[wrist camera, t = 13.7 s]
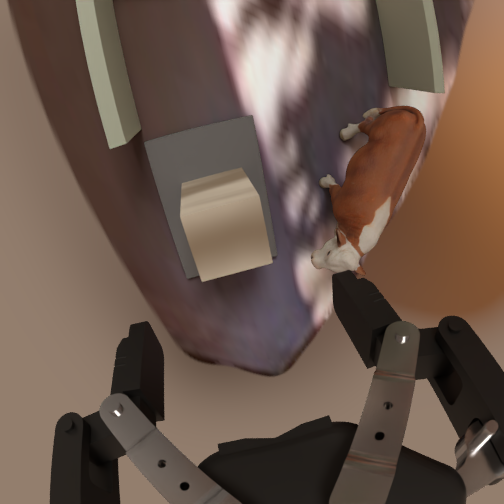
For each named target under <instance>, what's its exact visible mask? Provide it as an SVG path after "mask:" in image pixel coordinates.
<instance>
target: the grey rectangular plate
mask: <svg viewBox="0 0 504 504" xmlns="http://www.w3.org/2000/svg"><path fill="white" fill-rule="evenodd" d="M144 145H145V148H146V152H147V155H148V159H149V162H150V166H151V169H152V173H153V176H154V179H155V183H156V186H157V189H158V192H159V196H160V199H161V202H162V205H163V208H164V212H165V215H166V218H167V221H168V224H169V227H170V230H171V233H172V236H173V239H174V242H175V245H176V248H177V251H178V254H179V257H180V260H181V263H182V265H183V268H184V271H185V274H186V277H187V279H188V278H192V277H196V276H200V275H199V272H198V269H197V266H196V263H195V260H194V257H193V255H192V252H191V249H190V246H189V243H188V240H187V237H186V234H185V231H184V228H183V225H182V221H181V218H180V207H181V187H182V183H185V182H188V181H192V180H196V179H199V178H203V177H207V176H210V175H214V174H218V173H222V172H226V171H230V170H233V169H237V168H242V169H243V170H244V172H245V174H246V175H247V177H248V178H249V180H250V182H251V183H252V185H253V186H254V188H255V190H256V191H257V193H258V195H259V197H260V201H261V206H262V211H263V216H264V221H265V226H266V231H267V236H268V241H269V247H270V252H271V257H274V256H277V250H276V244H275V238H274V232H273V226H272V220H271V214H270V208H269V203H268V197H267V191H266V185H265V180H264V174H263V169H262V163H261V158H260V152H259V147H258V141H257V136H256V130H255V125H254V120H253V116H252V115H250V116H245V117H240V118H235V119H231V120H226V121H222V122H217V123H213V124H209V125H205V126H201V127H196V128H193V129H189V130H185V131H181V132H177V133H174V134H170V135H166V136H163V137H159V138H156V139H153V140H149V141H146V142H144Z"/></svg>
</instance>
